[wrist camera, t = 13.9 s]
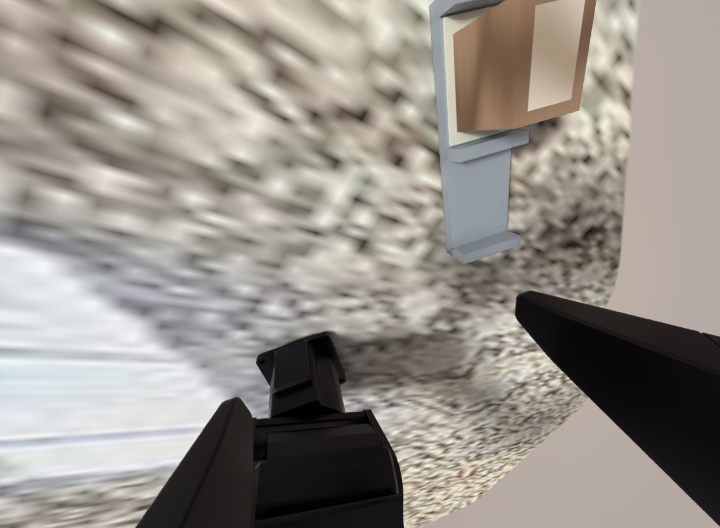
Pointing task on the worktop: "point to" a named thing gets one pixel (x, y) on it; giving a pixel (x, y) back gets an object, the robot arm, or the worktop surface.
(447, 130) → the bracket
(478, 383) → the worktop surface
